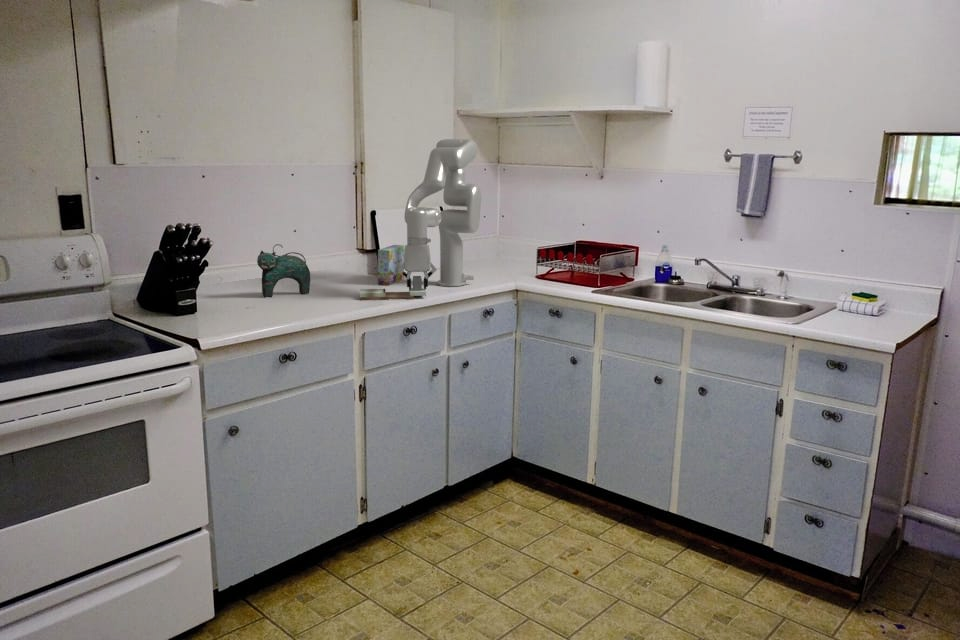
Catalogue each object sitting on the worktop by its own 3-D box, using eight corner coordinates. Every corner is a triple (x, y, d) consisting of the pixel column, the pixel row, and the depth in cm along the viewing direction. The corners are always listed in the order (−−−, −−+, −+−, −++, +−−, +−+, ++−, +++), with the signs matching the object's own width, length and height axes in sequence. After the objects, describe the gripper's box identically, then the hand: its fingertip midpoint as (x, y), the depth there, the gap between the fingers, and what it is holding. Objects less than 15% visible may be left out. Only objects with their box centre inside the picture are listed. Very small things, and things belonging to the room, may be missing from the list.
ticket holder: (411, 294, 287) (411, 287, 286) (413, 299, 276) (413, 292, 276) (360, 295, 284) (360, 288, 284) (360, 300, 274) (359, 293, 273)
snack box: (390, 285, 306) (389, 250, 303) (377, 285, 307) (376, 249, 304) (405, 278, 326) (404, 244, 323) (393, 277, 327) (392, 244, 324)
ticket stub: (424, 291, 287) (424, 275, 285) (426, 295, 278) (425, 278, 276) (409, 291, 286) (408, 275, 284) (410, 295, 277) (410, 278, 276)
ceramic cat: (261, 298, 275) (258, 245, 270) (256, 296, 280) (253, 244, 276) (312, 294, 285) (310, 243, 280) (307, 291, 290) (305, 241, 286)
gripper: (438, 240, 282) (438, 286, 286) (394, 241, 280) (394, 287, 284) (440, 242, 275) (440, 290, 279) (394, 243, 273) (395, 290, 277)
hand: (417, 288), depth 281 cm, fingers open, 5 cm apart
